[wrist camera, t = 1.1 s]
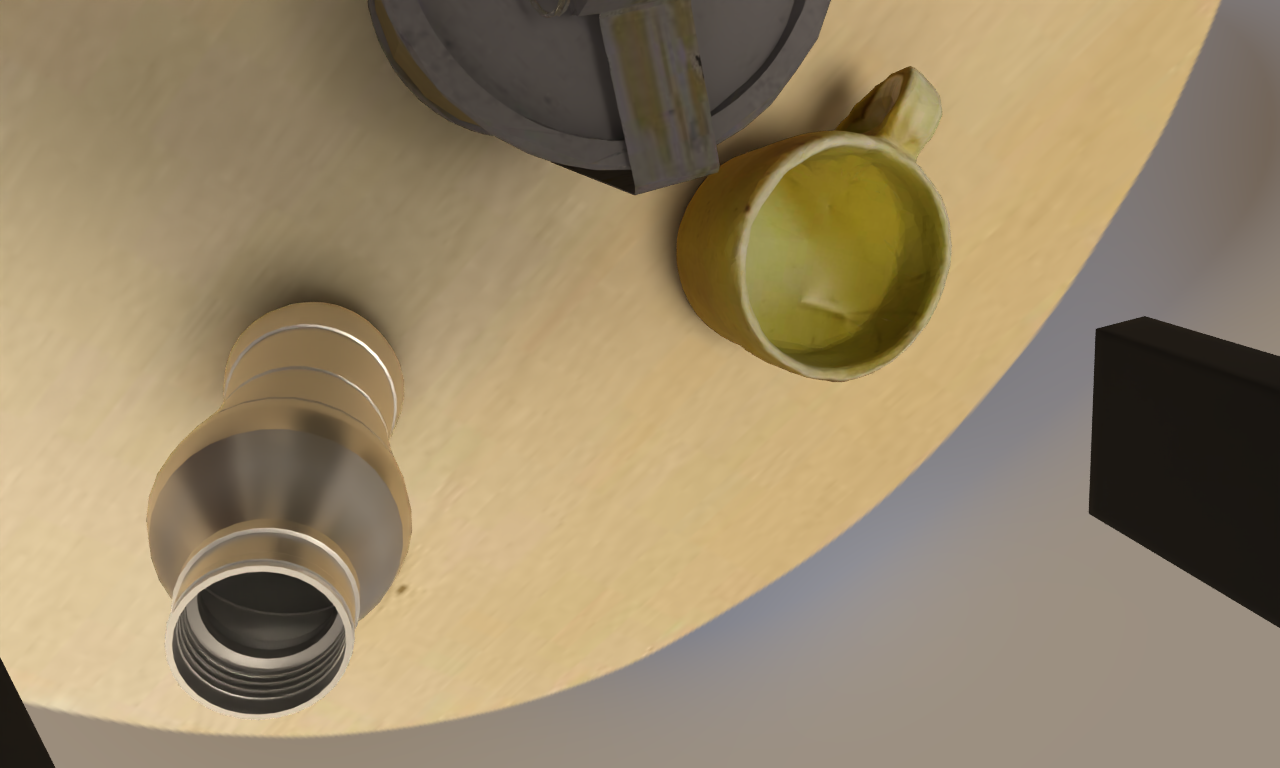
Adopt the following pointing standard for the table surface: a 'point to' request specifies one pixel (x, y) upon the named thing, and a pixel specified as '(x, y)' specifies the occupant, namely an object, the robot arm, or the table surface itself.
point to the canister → (601, 75)
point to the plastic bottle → (282, 514)
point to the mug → (825, 240)
